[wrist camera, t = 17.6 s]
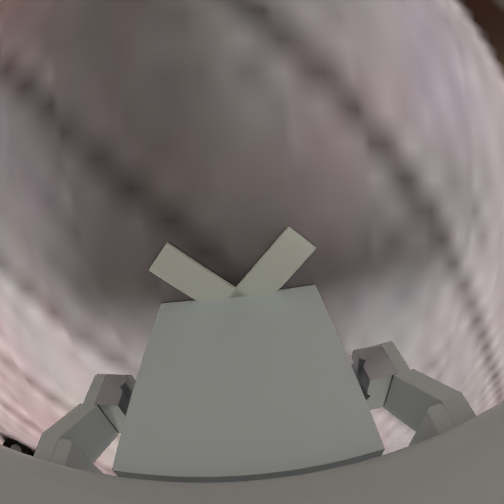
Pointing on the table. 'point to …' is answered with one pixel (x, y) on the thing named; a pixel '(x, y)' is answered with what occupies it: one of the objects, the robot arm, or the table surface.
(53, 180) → the table surface
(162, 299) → the table surface
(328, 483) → the robot arm
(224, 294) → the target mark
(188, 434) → the grey block
